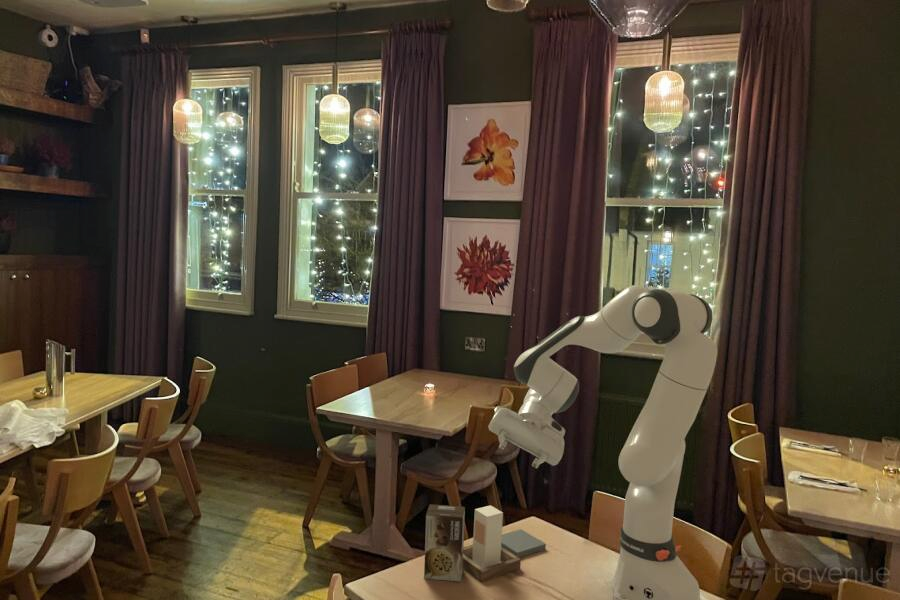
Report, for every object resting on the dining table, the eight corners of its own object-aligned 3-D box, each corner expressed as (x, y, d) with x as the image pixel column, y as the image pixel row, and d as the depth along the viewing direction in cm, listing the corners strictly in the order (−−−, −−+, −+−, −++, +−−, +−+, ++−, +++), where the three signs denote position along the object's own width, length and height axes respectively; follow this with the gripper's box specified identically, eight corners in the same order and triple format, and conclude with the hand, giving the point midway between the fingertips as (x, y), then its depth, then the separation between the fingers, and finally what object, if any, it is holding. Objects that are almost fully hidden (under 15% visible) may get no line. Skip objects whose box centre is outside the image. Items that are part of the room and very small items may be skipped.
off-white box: (499, 566, 164) (502, 512, 163) (483, 571, 161) (486, 516, 160) (487, 557, 168) (490, 505, 167) (471, 562, 165) (474, 509, 164)
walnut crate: (520, 568, 164) (520, 559, 163) (481, 581, 156) (482, 571, 156) (489, 548, 173) (490, 539, 173) (452, 559, 166) (452, 550, 166)
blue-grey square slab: (545, 549, 175) (545, 543, 175) (516, 558, 169) (517, 552, 169) (520, 534, 183) (520, 529, 183) (492, 542, 177) (492, 537, 177)
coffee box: (462, 569, 162) (466, 506, 160) (460, 582, 156) (464, 517, 154) (426, 565, 163) (429, 503, 161) (422, 578, 157) (425, 513, 155)
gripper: (502, 395, 175) (486, 428, 164) (571, 433, 173) (559, 468, 162) (493, 410, 179) (477, 443, 167) (560, 447, 176) (549, 483, 165)
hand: (518, 456), depth 164 cm, fingers open, 8 cm apart
